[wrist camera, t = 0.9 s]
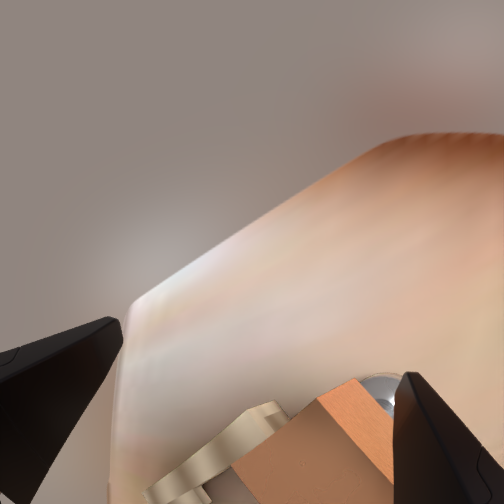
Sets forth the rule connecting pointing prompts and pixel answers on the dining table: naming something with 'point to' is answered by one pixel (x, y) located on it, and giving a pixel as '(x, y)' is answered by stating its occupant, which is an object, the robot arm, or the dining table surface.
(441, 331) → the dining table surface
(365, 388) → the wooden block metal peg
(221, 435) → the keyhole box
